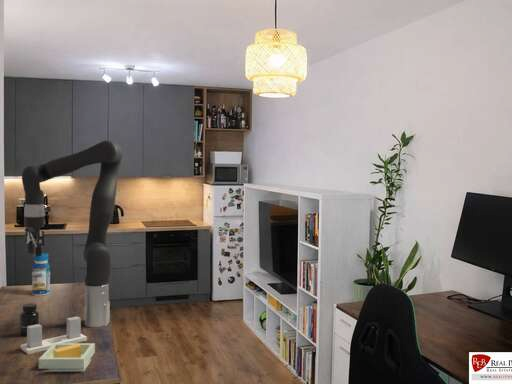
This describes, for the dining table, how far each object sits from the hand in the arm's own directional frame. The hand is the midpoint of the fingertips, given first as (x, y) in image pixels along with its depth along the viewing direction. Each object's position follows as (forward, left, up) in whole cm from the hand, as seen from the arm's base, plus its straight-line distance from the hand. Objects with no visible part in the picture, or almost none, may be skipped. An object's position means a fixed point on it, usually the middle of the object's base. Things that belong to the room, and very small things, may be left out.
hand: (34, 254), depth 205 cm
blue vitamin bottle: (+13, -45, -28) cm, 55 cm away
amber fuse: (-23, +45, -25) cm, 56 cm away
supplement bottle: (-4, +16, -28) cm, 33 cm away
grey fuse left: (-12, +32, -27) cm, 44 cm away
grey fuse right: (-22, +23, -27) cm, 42 cm away
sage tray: (-26, +42, -28) cm, 57 cm away
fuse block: (-17, +27, -28) cm, 43 cm away
